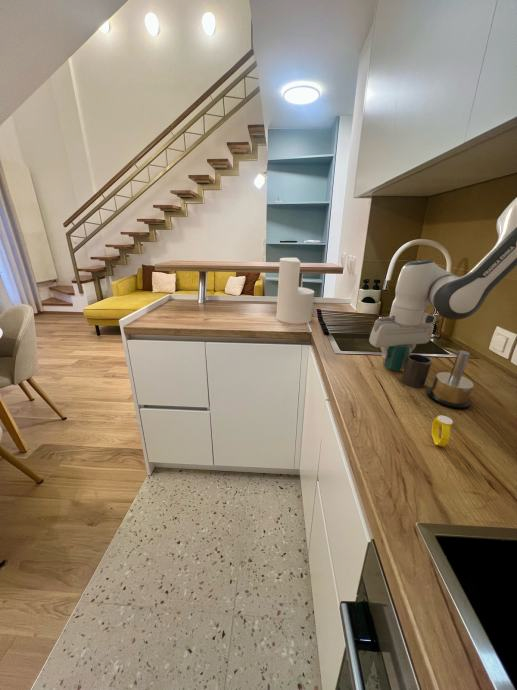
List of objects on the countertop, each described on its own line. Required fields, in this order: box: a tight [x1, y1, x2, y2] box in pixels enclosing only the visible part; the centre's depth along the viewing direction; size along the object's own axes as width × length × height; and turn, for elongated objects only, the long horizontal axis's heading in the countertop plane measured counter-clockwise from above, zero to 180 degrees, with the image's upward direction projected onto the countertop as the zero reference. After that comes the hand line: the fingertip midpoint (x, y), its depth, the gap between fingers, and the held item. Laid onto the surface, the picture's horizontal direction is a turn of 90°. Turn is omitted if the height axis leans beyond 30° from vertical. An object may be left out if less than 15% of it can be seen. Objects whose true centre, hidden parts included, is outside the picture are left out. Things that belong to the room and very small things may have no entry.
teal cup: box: [382, 345, 410, 371], centre depth 89 cm, size 6×6×8 cm
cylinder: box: [275, 257, 315, 325], centre depth 133 cm, size 17×17×28 cm
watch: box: [431, 414, 454, 447], centre depth 59 cm, size 6×3×6 cm, turn 163°
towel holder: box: [426, 349, 475, 411], centre depth 73 cm, size 10×10×14 cm
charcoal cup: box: [400, 353, 433, 389], centre depth 82 cm, size 6×6×8 cm
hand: (395, 356), depth 90 cm, fingers closed on teal cup, 6 cm apart
